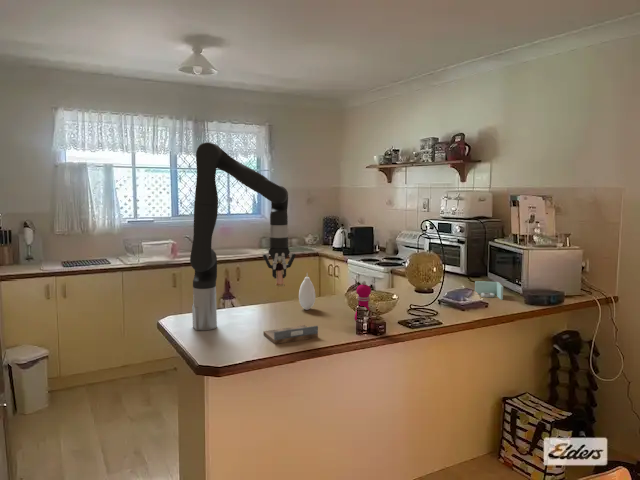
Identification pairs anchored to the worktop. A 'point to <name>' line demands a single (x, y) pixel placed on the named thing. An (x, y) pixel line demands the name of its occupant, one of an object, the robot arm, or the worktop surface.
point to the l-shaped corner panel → (489, 289)
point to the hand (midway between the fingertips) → (279, 277)
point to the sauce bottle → (307, 294)
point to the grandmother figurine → (279, 272)
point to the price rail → (295, 332)
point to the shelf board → (270, 336)
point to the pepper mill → (363, 296)
